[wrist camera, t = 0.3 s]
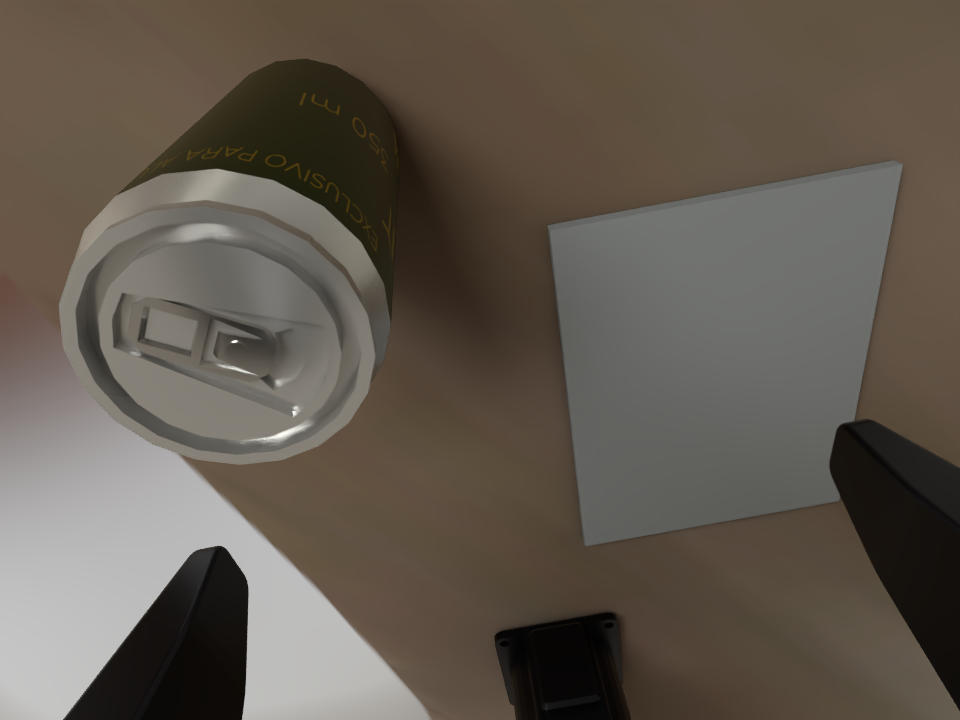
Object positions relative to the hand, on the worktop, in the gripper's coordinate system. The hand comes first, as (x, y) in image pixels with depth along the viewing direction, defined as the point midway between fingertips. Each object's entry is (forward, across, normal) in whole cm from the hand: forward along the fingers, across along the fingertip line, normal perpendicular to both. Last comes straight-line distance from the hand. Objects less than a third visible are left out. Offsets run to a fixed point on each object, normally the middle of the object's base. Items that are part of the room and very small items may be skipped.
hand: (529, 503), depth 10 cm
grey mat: (+14, -8, +11) cm, 20 cm away
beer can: (+15, +4, -1) cm, 16 cm away
